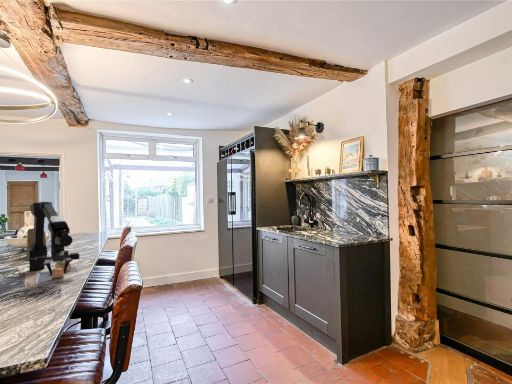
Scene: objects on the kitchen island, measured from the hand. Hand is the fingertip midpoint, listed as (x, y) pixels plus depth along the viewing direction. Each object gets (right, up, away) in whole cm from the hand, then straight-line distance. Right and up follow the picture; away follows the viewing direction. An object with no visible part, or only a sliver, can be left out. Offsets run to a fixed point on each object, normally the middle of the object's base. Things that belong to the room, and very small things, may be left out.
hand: (57, 274), depth 147 cm
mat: (-7, -2, +14) cm, 15 cm away
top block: (-7, +2, +14) cm, 15 cm away
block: (-55, -3, +56) cm, 79 cm away
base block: (-7, -2, +14) cm, 15 cm away
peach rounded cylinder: (0, -1, 0) cm, 1 cm away
